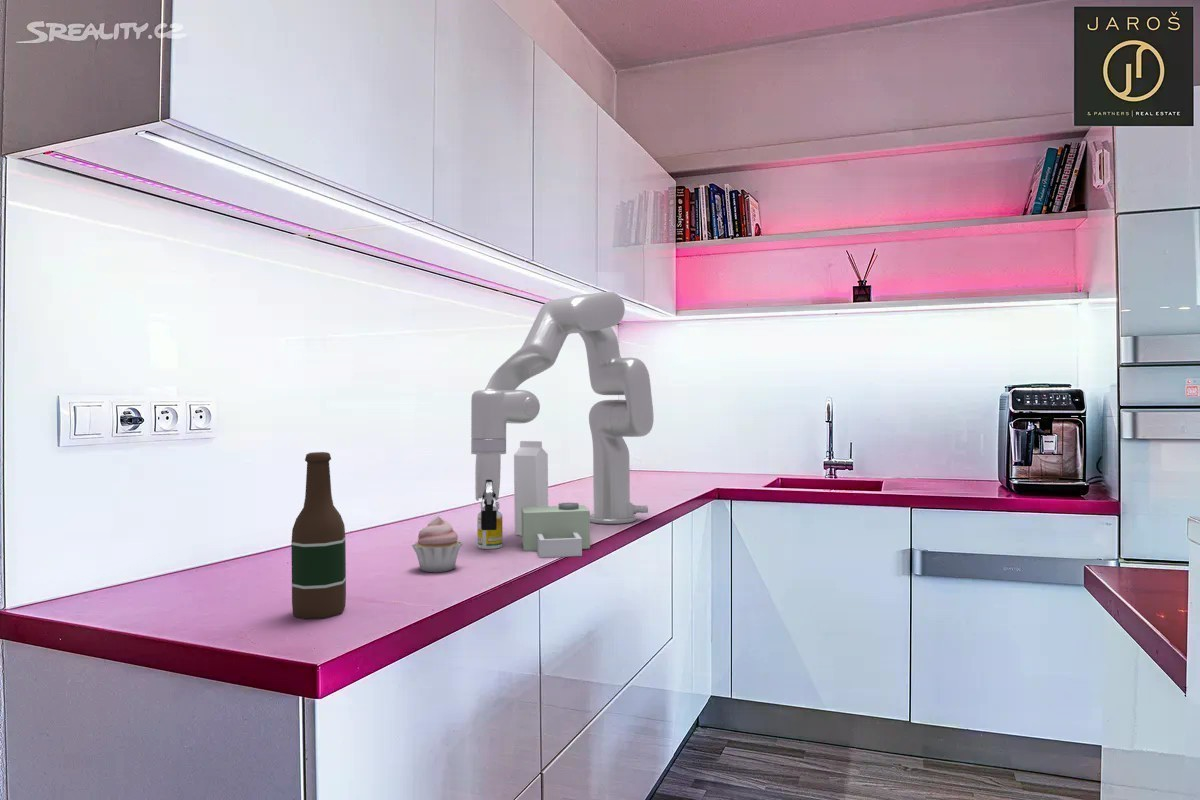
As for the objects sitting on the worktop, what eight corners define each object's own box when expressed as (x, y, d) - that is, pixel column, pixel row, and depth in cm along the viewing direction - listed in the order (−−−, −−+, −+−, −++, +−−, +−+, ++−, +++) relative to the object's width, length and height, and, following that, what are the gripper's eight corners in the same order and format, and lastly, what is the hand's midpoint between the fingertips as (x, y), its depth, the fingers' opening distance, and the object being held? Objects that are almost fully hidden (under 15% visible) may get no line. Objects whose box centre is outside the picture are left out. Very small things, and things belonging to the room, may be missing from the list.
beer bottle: (339, 603, 119) (338, 450, 120) (352, 614, 113) (351, 452, 113) (287, 610, 115) (285, 452, 115) (297, 623, 109) (295, 455, 109)
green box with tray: (584, 540, 171) (583, 500, 171) (595, 555, 155) (595, 511, 155) (521, 543, 169) (521, 502, 169) (526, 558, 152) (525, 513, 152)
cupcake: (429, 577, 137) (428, 521, 137) (403, 569, 143) (402, 516, 143) (472, 569, 143) (472, 515, 143) (445, 561, 150) (445, 511, 150)
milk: (527, 531, 185) (526, 440, 185) (549, 532, 182) (548, 440, 183) (514, 535, 179) (513, 441, 180) (536, 536, 177) (535, 441, 177)
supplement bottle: (473, 548, 163) (472, 503, 163) (485, 544, 168) (484, 500, 168) (495, 550, 161) (495, 504, 161) (506, 545, 166) (506, 501, 166)
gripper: (471, 445, 173) (471, 521, 172) (470, 449, 155) (470, 533, 155) (504, 445, 174) (504, 520, 173) (507, 448, 157) (507, 532, 156)
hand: (488, 526), depth 164 cm, fingers open, 9 cm apart
